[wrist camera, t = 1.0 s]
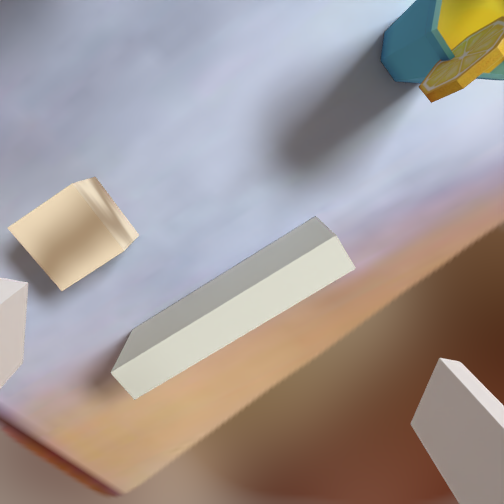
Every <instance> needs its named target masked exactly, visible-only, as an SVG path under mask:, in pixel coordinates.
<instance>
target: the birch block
mask: <svg viewBox="0 0 504 504" xmlns="http://www.w3.org/2000/svg"><path fill="white" fill-rule="evenodd" d="M8 229H9V230H10V232H11V233H12V234H13V235H14V236H15V237H16V239H17V240H18V241H19V242H20V243H21V244H22V246H23V247H24V248H25V249H26V250H27V251H28V253H29V254H30V255H31V256H32V257H33V258H34V260H35V261H36V262H37V263H38V264H39V265H40V267H41V268H42V269H43V270H44V271H45V272H46V273H47V275H48V276H49V277H50V278H51V279H52V280H53V282H54V283H55V284H56V285H57V286H58V287H59V289H60V290H61V291H63V290H65V289H66V288H68V287H69V286H71V285H72V284H74V283H75V282H77V281H79V280H80V279H82V278H83V277H85V276H86V275H88V274H89V273H91V272H92V271H94V270H95V269H97V268H99V267H100V266H102V265H103V264H105V263H106V262H108V261H109V260H111V259H112V258H114V257H116V256H117V255H119V254H120V253H122V252H123V251H125V250H126V249H127V247H128V246H129V245H130V244H131V243H132V242H133V241H134V240H135V239H136V238H137V237H138V236H139V234H138V233H137V232H136V230H135V229H134V228H133V226H132V225H131V224H130V222H129V221H128V220H127V218H126V217H125V216H124V214H123V213H122V212H121V210H120V209H119V208H118V206H117V205H116V204H115V202H114V201H113V200H112V198H111V197H110V196H109V194H108V193H107V192H106V190H105V189H104V188H103V186H102V185H101V184H100V182H99V181H98V180H97V178H96V177H93V178H90V179H86V180H83V181H79V182H76V183H72V184H71V185H69V186H68V187H66V188H65V189H63V190H62V191H60V192H59V193H58V194H56V195H55V196H53V197H52V198H50V199H49V200H47V201H46V202H44V203H43V204H42V205H40V206H39V207H37V208H36V209H34V210H33V211H31V212H30V213H28V214H27V215H25V216H24V217H23V218H21V219H20V220H18V221H17V222H15V223H14V224H12V225H11V226H9V227H8Z"/></svg>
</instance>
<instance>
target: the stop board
mask: <svg viewBox="0 0 504 504" xmlns="http://www.w3.org/2000/svg"><path fill="white" fill-rule="evenodd" d="M354 269H356V268H355V267H354V265H353V263H352V261H351V260H350V258H349V256H348V255H347V253H346V251H345V249H344V248H343V246H342V244H341V243H340V241H339V239H338V237H337V236H336V235H335V234H334V233H333V232H332V231H331V230H330V229H329V228H328V227H327V226H326V225H325V224H324V223H323V222H321V221H320V220H319V219H318V218H317V217H316V216H315V217H313V218H312V219H310V220H308V221H307V222H305V223H303V224H302V225H300V226H299V227H297V228H295V229H294V230H292V231H291V232H289V233H287V234H286V235H284V236H282V237H281V238H279V239H278V240H276V241H274V242H273V243H271V244H270V245H268V246H266V247H265V248H263V249H261V250H260V251H258V252H257V253H255V254H253V255H252V256H250V257H249V258H247V259H245V260H244V261H242V262H241V263H239V264H237V265H236V266H234V267H232V268H231V269H229V270H228V271H226V272H224V273H223V274H221V275H220V276H218V277H216V278H215V279H213V280H211V281H210V282H208V283H207V284H205V285H203V286H202V287H200V288H199V289H197V290H195V291H194V292H192V293H191V294H189V295H187V296H186V297H184V298H182V299H181V300H179V301H178V302H176V303H174V304H173V305H171V306H170V307H168V308H166V309H165V310H163V311H161V312H160V313H158V314H157V315H155V316H153V317H152V318H150V319H149V320H147V321H145V322H144V323H142V324H140V325H139V326H137V327H136V328H134V329H133V330H132V332H131V334H130V336H129V338H128V340H127V342H126V344H125V345H124V347H123V349H122V351H121V353H120V355H119V357H118V359H117V361H116V363H115V365H114V367H113V369H112V371H111V374H112V375H113V376H114V377H115V378H116V379H117V381H118V382H119V383H120V384H121V385H122V386H123V387H124V389H125V390H126V391H127V392H128V393H129V394H130V395H131V397H132V398H133V399H134V400H135V399H137V398H139V397H140V396H142V395H144V394H145V393H147V392H149V391H150V390H152V389H154V388H155V387H157V386H159V385H160V384H162V383H164V382H165V381H167V380H169V379H171V378H172V377H174V376H176V375H177V374H179V373H181V372H182V371H184V370H186V369H187V368H189V367H191V366H192V365H194V364H196V363H197V362H199V361H201V360H202V359H204V358H206V357H208V356H209V355H211V354H213V353H214V352H216V351H218V350H219V349H221V348H223V347H224V346H226V345H228V344H229V343H231V342H233V341H234V340H236V339H238V338H239V337H241V336H243V335H245V334H246V333H248V332H250V331H251V330H253V329H255V328H256V327H258V326H260V325H261V324H263V323H265V322H266V321H268V320H270V319H271V318H273V317H275V316H277V315H278V314H280V313H282V312H283V311H285V310H287V309H288V308H290V307H292V306H293V305H295V304H297V303H298V302H300V301H302V300H303V299H305V298H307V297H308V296H310V295H312V294H314V293H315V292H317V291H319V290H320V289H322V288H324V287H325V286H327V285H329V284H330V283H332V282H334V281H335V280H337V279H339V278H340V277H342V276H344V275H345V274H347V273H349V272H351V271H352V270H354Z"/></svg>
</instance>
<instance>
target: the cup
mask: <svg viewBox="0 0 504 504" xmlns="http://www.w3.org/2000/svg"><path fill="white" fill-rule="evenodd" d="M381 62H382V63H383V65H384V66H385V68H386V69H387V71H388V72H389V74H390V75H391V76H392V78H393V79H394V81H396V82H409V83H421V84H420V86H419V88H420V89H421V91H422V92H423V93H424V94H425V96H426V97H427V98H428V99H429V100H430V102H431V103H432V102H434V101H436V100H439V99H441V98H443V97H445V96H448V95H450V94H452V93H454V92H457V91H459V90H461V89H463V88H465V87H466V86H467V85H468V84H470V83H471V82H472V81H473V80H475V79H489V80H504V0H416V1H415V2H414V3H413V4H412V5H411V6H410V7H409V8H408V9H407V10H406V11H405V12H404V13H403V14H402V15H401V16H400V17H399V18H398V19H397V20H396V21H395V22H394V23H393V24H392V25H391V26H390V27H389V28H388V29H387V30H386V31H385V32H384V39H383V46H382V53H381Z"/></svg>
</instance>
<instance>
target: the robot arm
mask: <svg viewBox="0 0 504 504" xmlns="http://www.w3.org/2000/svg"><path fill="white" fill-rule="evenodd" d="M27 294H28V283H27V282H22V281H16V280H11V279H6V278H0V389H1V387H2V386H3V385H4V384H5V383H6V382H7V381H8V379H9V378H10V377H11V376H12V375H13V374H14V372H15V371H16V370H17V369H18V368H19V367H20V366H21V364H22V363H23V353H24V338H25V323H26V308H27ZM411 426H412V427H413V429H414V430H415V432H416V434H417V435H418V437H419V439H420V440H421V442H422V444H423V445H424V447H425V449H426V450H427V452H428V453H429V455H430V457H431V458H432V460H433V462H434V463H435V465H436V466H437V468H438V470H439V471H440V473H441V475H442V476H443V478H444V479H445V481H446V483H447V484H448V486H449V488H450V489H451V491H452V492H453V494H454V496H455V497H456V499H457V501H458V502H459V504H504V406H503V405H502V404H501V403H500V402H499V401H498V400H497V399H496V398H495V397H494V396H493V395H492V394H491V393H490V392H489V391H488V390H487V389H486V387H484V386H483V384H482V383H481V382H480V381H479V380H478V379H477V378H476V377H475V376H474V375H473V374H472V373H470V371H469V370H468V369H467V368H466V367H465V366H464V365H463V364H462V363H461V362H459V361H453V360H448V359H442V358H439V360H438V363H437V365H436V367H435V369H434V372H433V374H432V376H431V378H430V381H429V383H428V385H427V387H426V390H425V392H424V394H423V397H422V399H421V401H420V403H419V406H418V408H417V410H416V412H415V415H414V417H413V419H412V422H411Z"/></svg>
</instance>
